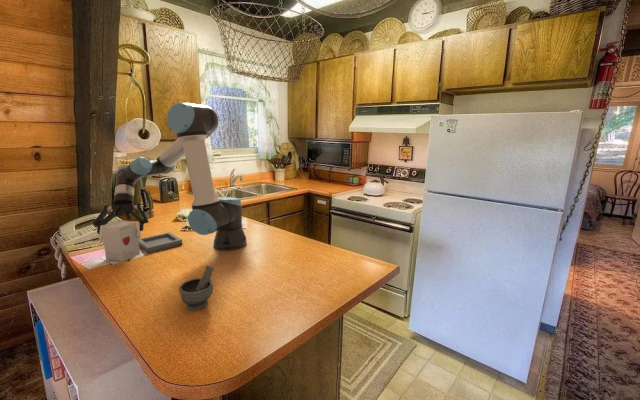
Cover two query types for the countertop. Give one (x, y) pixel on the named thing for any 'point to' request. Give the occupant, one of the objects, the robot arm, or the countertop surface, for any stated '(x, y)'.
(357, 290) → the countertop surface
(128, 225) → the supplement box
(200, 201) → the robot arm
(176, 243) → the charcoal tray
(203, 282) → the mortar and pestle
